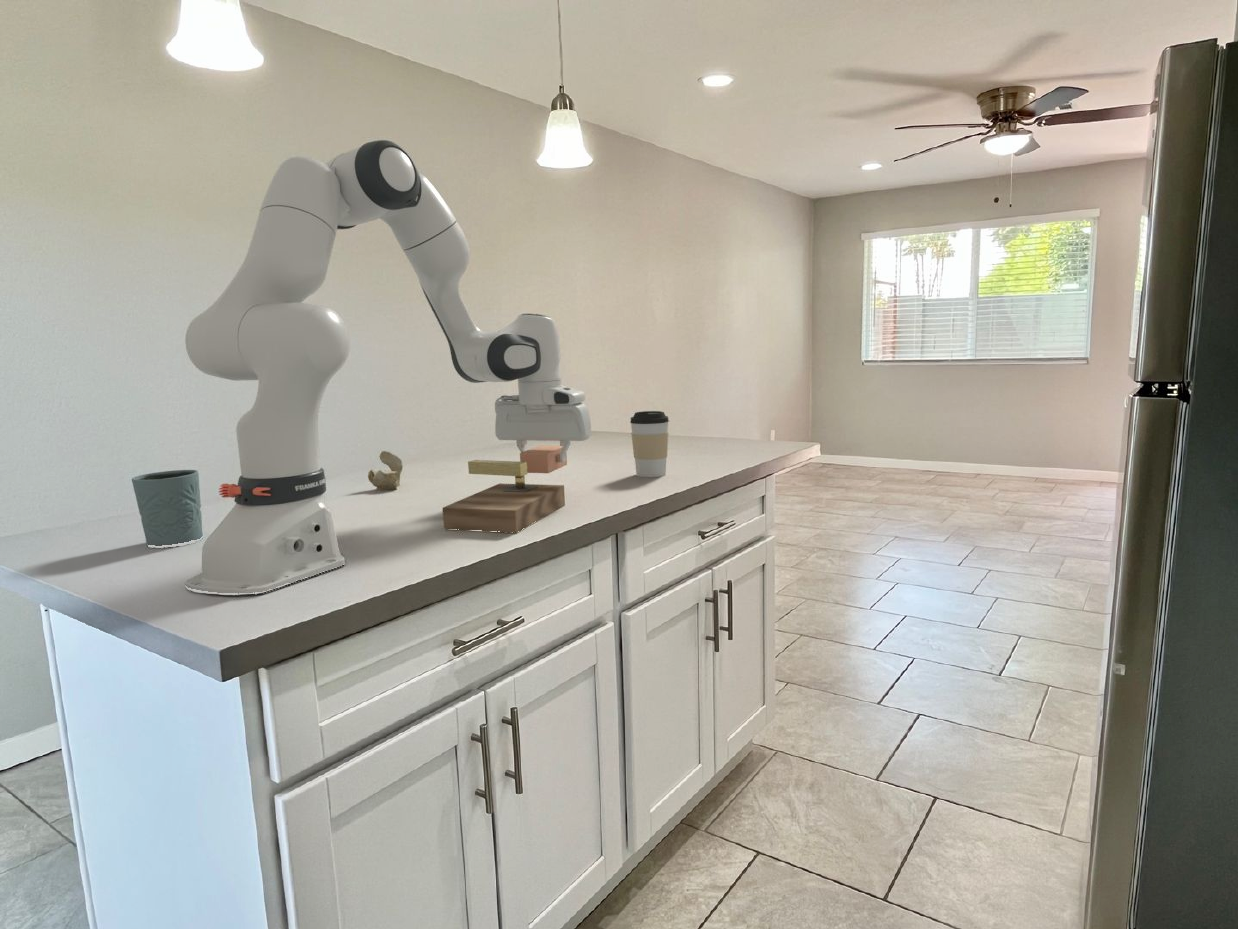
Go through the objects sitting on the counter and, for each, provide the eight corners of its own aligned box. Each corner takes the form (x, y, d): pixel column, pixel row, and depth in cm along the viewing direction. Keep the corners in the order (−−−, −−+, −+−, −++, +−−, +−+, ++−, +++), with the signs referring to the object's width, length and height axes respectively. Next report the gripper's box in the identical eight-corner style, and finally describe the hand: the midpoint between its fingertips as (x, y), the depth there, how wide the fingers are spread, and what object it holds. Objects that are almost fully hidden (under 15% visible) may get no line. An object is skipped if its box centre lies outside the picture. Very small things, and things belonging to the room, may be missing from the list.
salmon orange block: (548, 473, 156) (547, 453, 156) (521, 472, 158) (519, 453, 157) (566, 464, 166) (566, 445, 165) (540, 464, 168) (539, 445, 167)
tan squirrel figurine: (379, 487, 171) (367, 446, 174) (368, 499, 176) (357, 459, 178) (415, 484, 177) (403, 444, 180) (403, 495, 182) (391, 457, 184)
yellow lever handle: (528, 486, 151) (526, 461, 151) (521, 488, 149) (519, 464, 148) (476, 483, 157) (475, 459, 156) (469, 485, 154) (468, 461, 154)
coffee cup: (645, 470, 190) (644, 408, 187) (677, 472, 184) (676, 409, 182) (624, 476, 182) (621, 412, 180) (656, 479, 177) (654, 413, 175)
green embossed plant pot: (173, 551, 130) (163, 480, 128) (126, 548, 133) (116, 479, 131) (220, 535, 140) (212, 469, 138) (175, 533, 143) (166, 468, 141)
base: (516, 533, 133) (515, 509, 133) (444, 529, 138) (442, 506, 137) (564, 505, 154) (563, 484, 153) (500, 502, 158) (499, 482, 158)
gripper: (487, 396, 160) (491, 463, 162) (581, 395, 153) (584, 465, 156) (501, 394, 165) (505, 458, 168) (592, 392, 159) (595, 460, 162)
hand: (544, 461), depth 162 cm, fingers closed on salmon orange block, 6 cm apart
